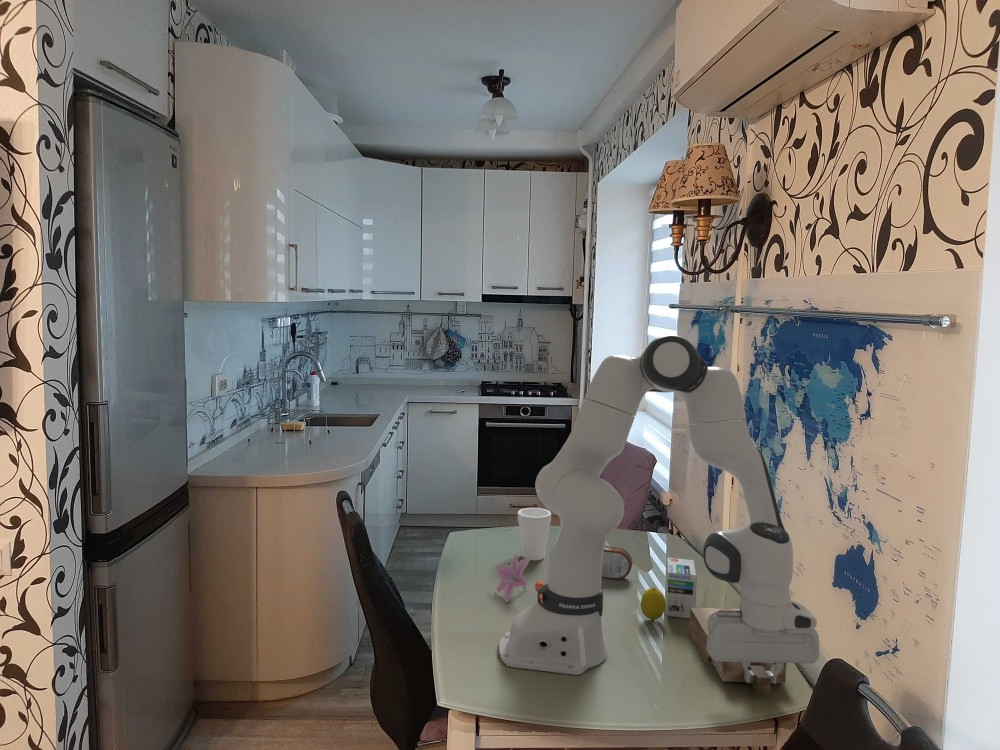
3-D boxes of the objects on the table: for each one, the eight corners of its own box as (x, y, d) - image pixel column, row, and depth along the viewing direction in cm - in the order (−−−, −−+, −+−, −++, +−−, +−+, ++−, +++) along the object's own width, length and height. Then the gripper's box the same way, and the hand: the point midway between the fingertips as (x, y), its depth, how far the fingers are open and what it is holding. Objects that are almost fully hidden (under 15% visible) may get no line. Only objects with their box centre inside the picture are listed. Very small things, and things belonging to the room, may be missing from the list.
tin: (631, 578, 195) (632, 547, 194) (631, 582, 192) (632, 551, 191) (575, 572, 198) (576, 542, 197) (573, 576, 195) (574, 545, 194)
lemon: (662, 627, 166) (664, 593, 165) (638, 623, 167) (639, 590, 167) (666, 618, 171) (667, 585, 170) (642, 614, 173) (643, 581, 172)
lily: (496, 586, 190) (483, 559, 186) (538, 570, 190) (526, 542, 185) (502, 619, 179) (489, 591, 175) (547, 602, 179) (534, 574, 175)
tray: (731, 695, 136) (732, 675, 136) (704, 649, 154) (705, 630, 154) (795, 696, 136) (796, 676, 136) (761, 650, 154) (762, 632, 154)
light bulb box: (695, 620, 170) (697, 575, 169) (665, 616, 171) (667, 572, 170) (692, 601, 181) (695, 559, 179) (665, 598, 182) (666, 556, 181)
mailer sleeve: (706, 664, 149) (707, 636, 148) (689, 633, 163) (690, 607, 162) (775, 666, 149) (776, 638, 148) (751, 634, 163) (753, 608, 162)
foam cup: (510, 557, 208) (511, 513, 206) (528, 548, 215) (529, 505, 214) (538, 565, 202) (540, 519, 201) (555, 555, 210) (557, 511, 209)
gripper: (713, 617, 133) (709, 689, 135) (825, 620, 133) (820, 692, 135) (704, 603, 140) (700, 671, 141) (811, 605, 139) (806, 674, 141)
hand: (760, 681), depth 138 cm, fingers open, 3 cm apart
